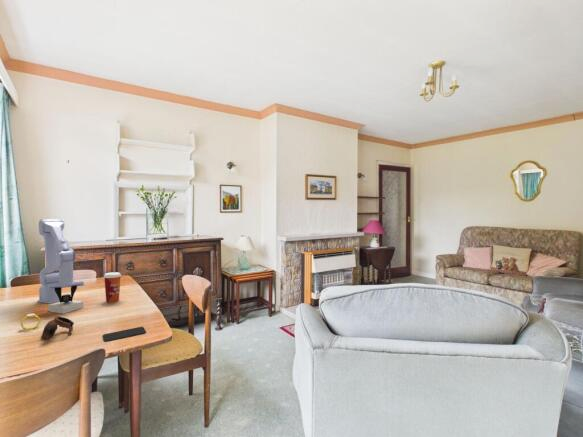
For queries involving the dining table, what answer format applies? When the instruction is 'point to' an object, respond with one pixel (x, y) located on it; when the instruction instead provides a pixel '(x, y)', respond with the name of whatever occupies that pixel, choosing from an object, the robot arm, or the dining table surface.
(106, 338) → the phone
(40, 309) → the dining table surface
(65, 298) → the plunger
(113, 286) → the coffee cup
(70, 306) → the block
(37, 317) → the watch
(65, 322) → the brown curved piece
